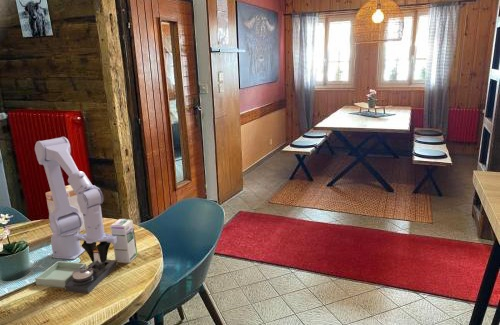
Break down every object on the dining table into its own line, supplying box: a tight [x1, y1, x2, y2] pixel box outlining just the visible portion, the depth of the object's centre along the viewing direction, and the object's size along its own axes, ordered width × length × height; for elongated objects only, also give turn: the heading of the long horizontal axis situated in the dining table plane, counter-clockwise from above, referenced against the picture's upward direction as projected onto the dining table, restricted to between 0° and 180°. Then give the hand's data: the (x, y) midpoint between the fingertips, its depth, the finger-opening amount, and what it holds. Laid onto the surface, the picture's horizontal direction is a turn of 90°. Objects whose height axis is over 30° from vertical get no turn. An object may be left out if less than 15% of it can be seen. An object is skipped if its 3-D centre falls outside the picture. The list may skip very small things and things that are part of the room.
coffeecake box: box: [45, 184, 85, 233], centre depth 161 cm, size 15×7×20 cm, turn 150°
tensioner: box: [64, 259, 118, 294], centre depth 127 cm, size 8×17×6 cm, turn 168°
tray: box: [34, 260, 87, 289], centre depth 128 cm, size 11×11×2 cm
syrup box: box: [109, 218, 138, 264], centre depth 138 cm, size 6×6×14 cm
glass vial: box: [92, 247, 105, 269], centre depth 131 cm, size 3×3×8 cm
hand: (99, 260), depth 131 cm, fingers closed on glass vial, 3 cm apart
